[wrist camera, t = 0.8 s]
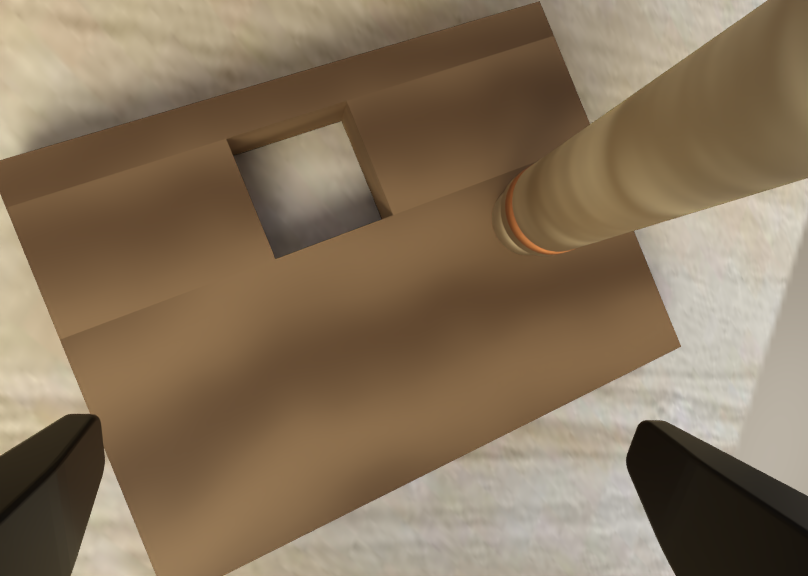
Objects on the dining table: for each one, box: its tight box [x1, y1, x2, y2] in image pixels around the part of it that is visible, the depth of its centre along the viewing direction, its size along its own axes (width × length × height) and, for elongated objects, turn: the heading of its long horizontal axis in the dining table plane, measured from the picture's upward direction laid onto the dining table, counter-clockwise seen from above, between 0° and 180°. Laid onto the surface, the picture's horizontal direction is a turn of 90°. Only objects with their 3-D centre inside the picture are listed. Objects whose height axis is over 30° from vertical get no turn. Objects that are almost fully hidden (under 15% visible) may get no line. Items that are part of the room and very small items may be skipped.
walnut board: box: [0, 1, 681, 576], centre depth 22 cm, size 16×22×2 cm
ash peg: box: [492, 0, 808, 256], centre depth 14 cm, size 3×3×16 cm
